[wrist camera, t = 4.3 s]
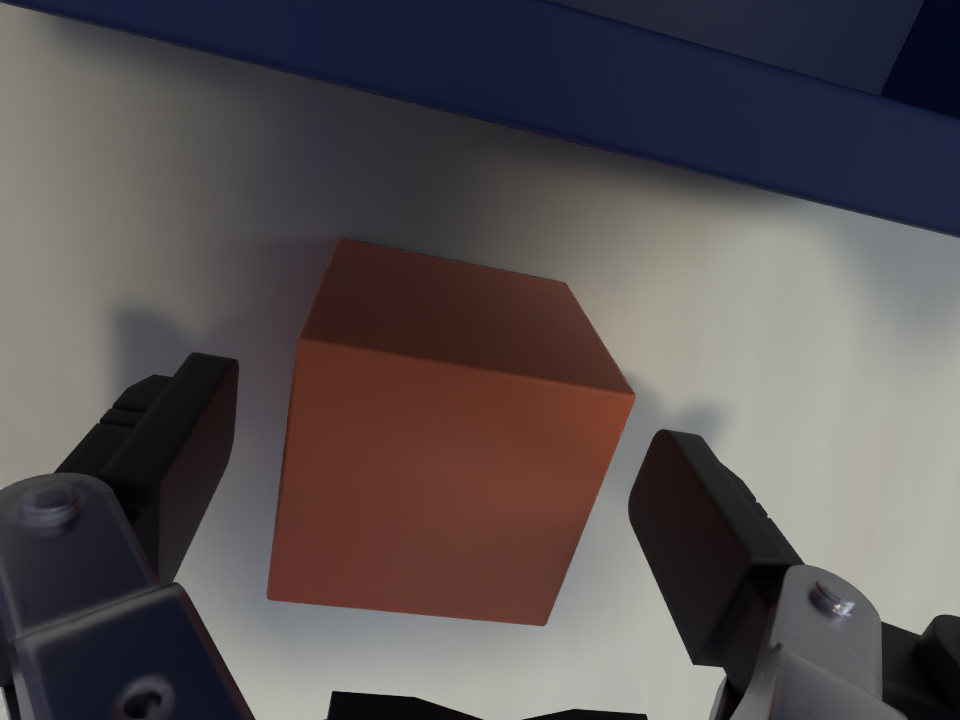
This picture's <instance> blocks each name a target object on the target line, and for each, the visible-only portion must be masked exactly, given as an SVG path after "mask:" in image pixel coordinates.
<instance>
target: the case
mask: <svg viewBox="0 0 960 720" xmlns="http://www.w3.org/2000/svg"><path fill="white" fill-rule="evenodd" d="M0 2H1V3H5V4H9V5H13V6H17V7H21V8H26V9H30V10H34V11H38V12H42V13H46V14H50V15H54V16H58V17H62V18H66V19H70V20H74V21H78V22H83V23H87V24H91V25H95V26H99V27H103V28H107V29H111V30H115V31H119V32H123V33H127V34H131V35H135V36H140V37H144V38H148V39H152V40H156V41H160V42H164V43H168V44H172V45H176V46H180V47H184V48H188V49H192V50H196V51H201V52H205V53H209V54H213V55H217V56H221V57H225V58H229V59H233V60H237V61H241V62H245V63H249V64H253V65H258V66H262V67H266V68H270V69H274V70H278V71H282V72H286V73H290V74H294V75H298V76H302V77H306V78H310V79H315V80H319V81H323V82H327V83H331V84H335V85H339V86H343V87H347V88H351V89H355V90H359V91H363V92H367V93H372V94H376V95H380V96H384V97H388V98H392V99H396V100H400V101H404V102H408V103H412V104H416V105H420V106H424V107H429V108H433V109H437V110H441V111H445V112H449V113H453V114H457V115H461V116H465V117H469V118H473V119H477V120H481V121H486V122H490V123H494V124H498V125H502V126H506V127H510V128H514V129H518V130H522V131H526V132H530V133H534V134H538V135H543V136H547V137H551V138H555V139H559V140H563V141H567V142H571V143H575V144H579V145H583V146H587V147H591V148H595V149H600V150H604V151H608V152H612V153H616V154H620V155H624V156H628V157H632V158H636V159H640V160H644V161H648V162H652V163H656V164H661V165H665V166H669V167H673V168H677V169H681V170H685V171H689V172H693V173H697V174H701V175H705V176H709V177H713V178H718V179H722V180H726V181H730V182H734V183H738V184H742V185H746V186H750V187H754V188H758V189H762V190H766V191H770V192H775V193H779V194H783V195H787V196H791V197H795V198H799V199H803V200H807V201H811V202H815V203H819V204H823V205H827V206H832V207H836V208H840V209H844V210H848V211H852V212H856V213H860V214H864V215H868V216H872V217H876V218H880V219H884V220H889V221H893V222H897V223H901V224H905V225H909V226H913V227H917V228H921V229H925V230H929V231H933V232H937V233H941V234H946V235H950V236H954V237H958V238H960V0H0Z"/></svg>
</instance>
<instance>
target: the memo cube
mask: <svg viewBox="0 0 960 720" xmlns="http://www.w3.org/2000/svg"><path fill="white" fill-rule="evenodd" d="M634 401H635V393H634V392H633V390H632V389H631V387H630V385H629V384H628V382H627V381H626V379H625V377H624V376H623V374H622V372H621V371H620V369H619V368H618V366H617V364H616V363H615V361H614V360H613V358H612V356H611V355H610V353H609V352H608V350H607V348H606V347H605V345H604V344H603V342H602V340H601V339H600V337H599V335H598V334H597V332H596V331H595V329H594V327H593V326H592V324H591V323H590V321H589V319H588V318H587V316H586V315H585V313H584V311H583V310H582V308H581V306H580V305H579V303H578V302H577V300H576V298H575V297H574V295H573V294H572V292H571V290H570V289H569V287H568V286H567V284H565V283H562V282H557V281H552V280H547V279H542V278H537V277H532V276H528V275H523V274H518V273H513V272H508V271H503V270H498V269H493V268H488V267H483V266H478V265H473V264H468V263H463V262H458V261H453V260H448V259H443V258H438V257H433V256H428V255H423V254H419V253H414V252H409V251H404V250H399V249H394V248H389V247H384V246H379V245H374V244H369V243H364V242H359V241H354V240H349V239H344V238H341V239H339V240H338V242H337V244H336V247H335V249H334V251H333V254H332V256H331V259H330V261H329V263H328V266H327V268H326V271H325V273H324V276H323V278H322V280H321V283H320V285H319V288H318V290H317V292H316V295H315V297H314V300H313V302H312V305H311V307H310V309H309V312H308V314H307V317H306V319H305V321H304V324H303V326H302V329H301V331H300V334H299V336H298V338H297V342H296V350H295V359H294V367H293V375H292V384H291V392H290V400H289V409H288V417H287V425H286V434H285V442H284V451H283V459H282V467H281V476H280V484H279V492H278V501H277V509H276V518H275V526H274V534H273V543H272V551H271V559H270V568H269V576H268V585H267V593H266V595H267V599H269V600H272V601H282V602H293V603H304V604H314V605H325V606H335V607H346V608H356V609H367V610H377V611H388V612H398V613H409V614H419V615H430V616H440V617H451V618H461V619H472V620H482V621H493V622H503V623H514V624H524V625H535V626H545V625H546V623H547V621H548V618H549V616H550V613H551V611H552V608H553V606H554V603H555V601H556V598H557V596H558V593H559V590H560V588H561V585H562V583H563V580H564V578H565V575H566V573H567V570H568V568H569V565H570V563H571V560H572V558H573V555H574V553H575V550H576V547H577V545H578V542H579V540H580V537H581V535H582V532H583V530H584V527H585V525H586V522H587V520H588V517H589V515H590V512H591V510H592V507H593V504H594V502H595V499H596V497H597V494H598V492H599V489H600V487H601V484H602V482H603V479H604V477H605V474H606V472H607V469H608V466H609V464H610V461H611V459H612V456H613V454H614V451H615V449H616V446H617V444H618V441H619V439H620V436H621V434H622V431H623V429H624V426H625V423H626V421H627V418H628V416H629V413H630V411H631V408H632V406H633V403H634Z"/></svg>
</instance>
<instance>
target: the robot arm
mask: <svg viewBox="0 0 960 720" xmlns="http://www.w3.org/2000/svg"><path fill="white" fill-rule="evenodd" d="M238 378H239V363H238V360H237V359H233V358H227V357H221V356H215V355H208V354H202V353H196V352H192V353H191V354H190V355H189V356H188V358H187V359H186V360H185V362H184V363H183V364H182V366H181V367H180V368H179V369H178V371H177V372H176V373H175V375H174V376H173V377H168V376H161V375H155V374H154V375H152V376H150V377H148V378H146V379H144V380H142V381H140V382H138V383H136V384H134V385H132V386H130V387H128V388H127V389H126V390H125V391H124V393H123V394H122V395H121V396H120V397H119V398H118V399H117V401H116V402H115V403H114V404H113V407H112V409H111V408H110V409H109V410H108V411H107V412H106V413H105V414H104V416H103V417H102V418H101V419H100V423H97V424H96V425H95V426H94V427H93V428H92V429H91V430H90V432H89V433H88V434H87V435H86V436H85V437H84V438H83V440H82V441H81V442H80V443H79V444H78V445H77V446H76V448H75V449H74V450H73V451H72V452H71V453H70V455H69V456H68V457H67V458H66V459H65V460H64V461H63V463H62V464H61V465H60V466H59V467H58V468H57V469H56V471H55V472H54V473H52V474H45V475H39V476H35V477H31V478H27V479H24V480H21V481H18V482H16V483H13V484H11V485H9V486H7V487H5V488H3V489H2V490H0V687H1V690H2V694H3V698H4V703H5V707H6V711H7V715H8V719H9V720H256V719H255V718H254V716H253V714H252V712H251V710H250V708H249V707H248V705H247V703H246V701H245V699H244V697H243V695H242V694H241V692H240V690H239V688H238V686H237V684H236V682H235V681H234V679H233V677H232V675H231V673H230V671H229V669H228V668H227V666H226V664H225V662H224V660H223V658H222V657H221V655H220V653H219V651H218V649H217V647H216V645H215V644H214V642H213V640H212V638H211V636H210V634H209V632H208V631H207V629H206V627H205V625H204V623H203V621H202V619H201V618H200V616H199V614H198V612H197V610H196V608H195V607H194V605H193V603H192V601H191V599H190V597H189V596H188V594H187V592H186V591H185V589H184V588H183V587H182V586H181V585H180V584H179V583H177V582H173V580H174V578H175V576H176V574H177V572H178V570H179V567H180V565H181V563H182V561H183V559H184V557H185V555H186V552H187V550H188V548H189V546H190V544H191V542H192V540H193V538H194V535H195V533H196V531H197V529H198V527H199V525H200V523H201V520H202V518H203V516H204V514H205V512H206V510H207V508H208V506H209V503H210V501H211V499H212V497H213V495H214V493H215V491H216V488H217V486H218V484H219V482H220V480H221V478H222V476H223V474H224V471H225V469H226V467H227V464H228V461H229V458H230V454H231V450H232V445H233V440H234V431H235V418H236V405H237V391H238ZM628 513H629V519H630V523H631V525H632V527H633V530H634V532H635V534H636V536H637V539H638V541H639V543H640V546H641V548H642V550H643V552H644V555H645V557H646V559H647V561H648V564H649V566H650V568H651V570H652V573H653V575H654V577H655V579H656V582H657V584H658V586H659V589H660V591H661V593H662V595H663V598H664V600H665V602H666V604H667V607H668V609H669V611H670V613H671V616H672V618H673V620H674V622H675V625H676V627H677V629H678V632H679V634H680V636H681V638H682V641H683V643H684V645H685V647H686V650H687V652H688V654H689V656H690V659H691V661H692V663H693V665H703V666H714V667H723V668H724V670H725V672H726V676H725V677H724V679H723V681H722V682H721V684H720V686H719V688H718V690H717V693H716V697H715V700H714V703H713V706H712V710H711V713H710V716H709V720H960V617H957V616H953V615H939V616H936V617H935V618H934V619H933V620H932V622H931V623H930V624H929V626H928V627H927V628H926V630H925V631H924V632H923V634H922V635H918V634H915V633H912V632H910V631H907V630H904V629H901V628H898V627H896V626H893V625H890V624H887V623H884V622H882V621H881V619H880V617H879V614H878V612H877V611H876V609H875V607H874V606H873V605H872V603H871V602H870V601H869V600H868V599H867V598H866V597H865V596H864V595H863V594H862V593H861V592H860V591H859V590H858V589H856V588H855V587H854V586H852V585H851V584H850V583H848V582H847V581H845V580H844V579H842V578H840V577H839V576H837V575H835V574H833V573H831V572H829V571H826V570H824V569H821V568H818V567H814V566H810V565H805V564H804V562H803V561H802V560H801V558H800V557H799V556H798V554H797V553H796V552H795V550H794V549H793V548H792V546H791V545H790V544H789V542H788V541H787V540H786V538H785V537H784V535H783V534H782V533H781V531H780V530H779V529H778V527H777V526H776V525H775V523H774V522H773V521H772V519H771V518H767V515H768V514H767V513H766V511H765V510H764V509H763V507H762V506H761V505H760V503H757V502H756V498H755V497H754V495H753V494H752V493H751V491H750V490H749V489H748V487H747V486H746V485H745V483H744V482H743V481H742V480H741V479H740V478H739V477H738V476H736V475H735V474H734V473H733V472H732V471H730V470H729V469H728V468H727V467H725V466H724V465H723V464H722V463H720V462H719V460H718V459H717V457H716V456H715V455H714V453H713V452H712V450H711V449H710V448H709V446H708V445H707V444H706V442H705V441H704V439H703V438H702V437H701V436H699V435H697V434H691V433H684V432H678V431H672V430H666V429H661V430H659V431H658V432H657V433H656V434H655V436H654V437H653V439H652V442H651V444H650V446H649V449H648V451H647V454H646V456H645V458H644V461H643V463H642V466H641V468H640V470H639V473H638V475H637V478H636V480H635V482H634V485H633V487H632V490H631V493H630V496H629V504H628ZM172 582H173V583H172ZM325 720H483V719H480V718H477V717H474V716H471V715H468V714H465V713H462V712H459V711H456V710H452V709H449V708H446V707H443V706H440V705H437V704H434V703H431V702H428V701H425V700H422V699H419V698H416V697H405V696H392V695H378V694H365V693H351V692H338V691H332V695H331V701H330V706H329V711H328V716H327V719H325ZM523 720H648V719H647V716H646V714H636V713H622V712H609V711H595V710H581V709H572V710H567V711H562V712H557V713H552V714H547V715H543V716H538V717H533V718H528V719H523Z"/></svg>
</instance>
